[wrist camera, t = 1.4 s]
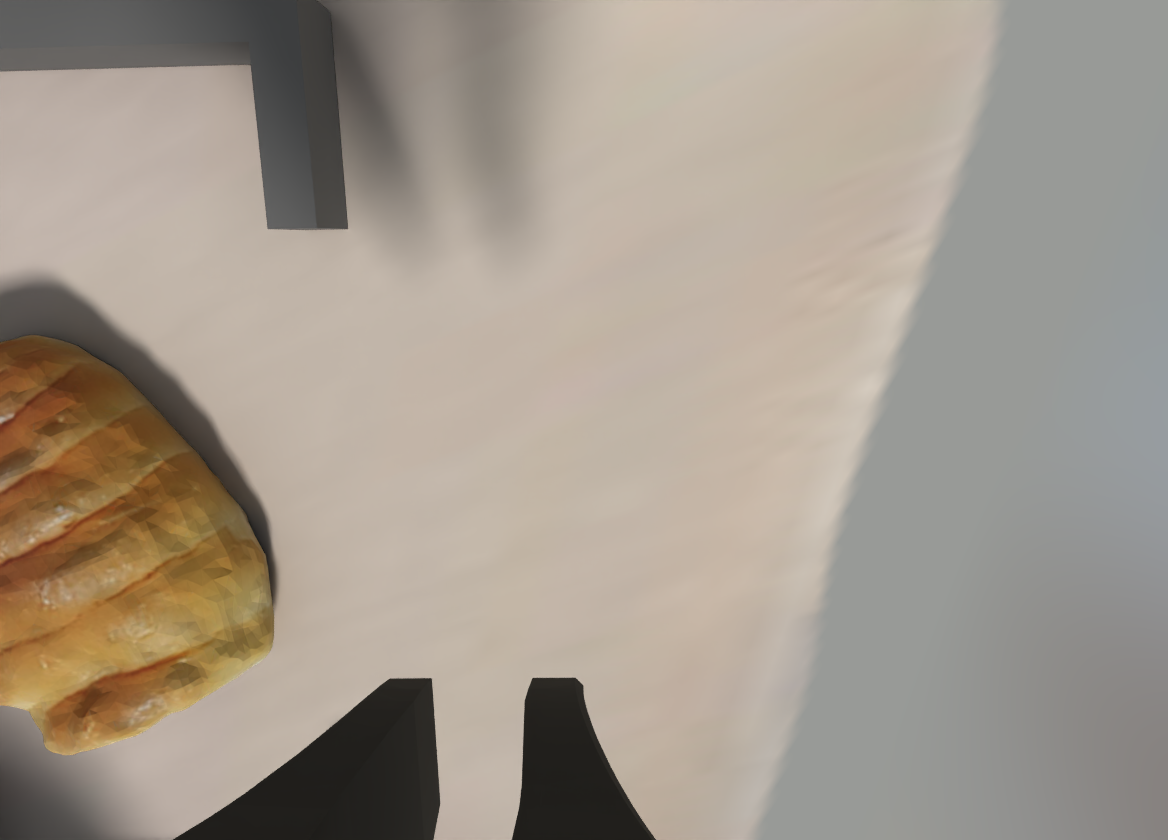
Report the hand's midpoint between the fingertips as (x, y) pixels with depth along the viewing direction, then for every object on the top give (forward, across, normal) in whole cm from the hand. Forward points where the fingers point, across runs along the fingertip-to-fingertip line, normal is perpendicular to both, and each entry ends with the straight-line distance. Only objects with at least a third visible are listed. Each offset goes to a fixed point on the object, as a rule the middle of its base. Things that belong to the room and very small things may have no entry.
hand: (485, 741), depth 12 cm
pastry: (+9, +10, 0) cm, 14 cm away
